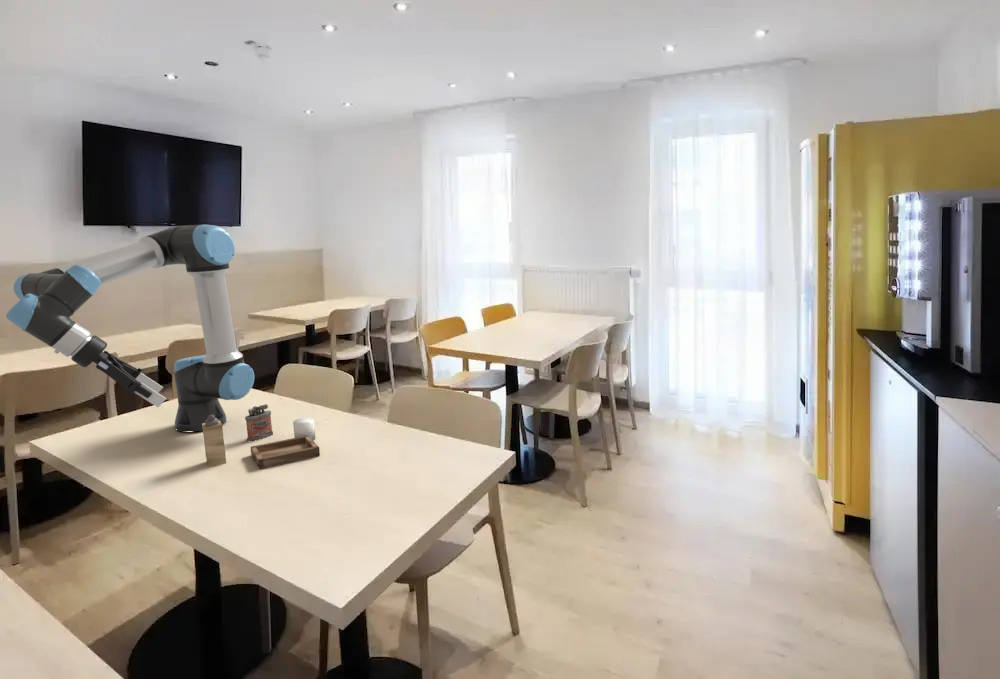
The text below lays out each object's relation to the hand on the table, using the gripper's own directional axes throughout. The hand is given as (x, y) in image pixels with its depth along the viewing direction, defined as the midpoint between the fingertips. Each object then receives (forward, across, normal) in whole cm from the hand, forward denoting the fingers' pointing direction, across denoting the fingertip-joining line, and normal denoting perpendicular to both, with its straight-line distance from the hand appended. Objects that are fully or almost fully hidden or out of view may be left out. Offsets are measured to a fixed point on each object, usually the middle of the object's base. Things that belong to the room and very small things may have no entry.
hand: (160, 396), depth 148 cm
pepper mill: (+22, 0, -7) cm, 23 cm away
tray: (+34, +6, +6) cm, 35 cm away
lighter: (+32, -14, +3) cm, 36 cm away
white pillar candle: (+40, -4, +11) cm, 42 cm away
